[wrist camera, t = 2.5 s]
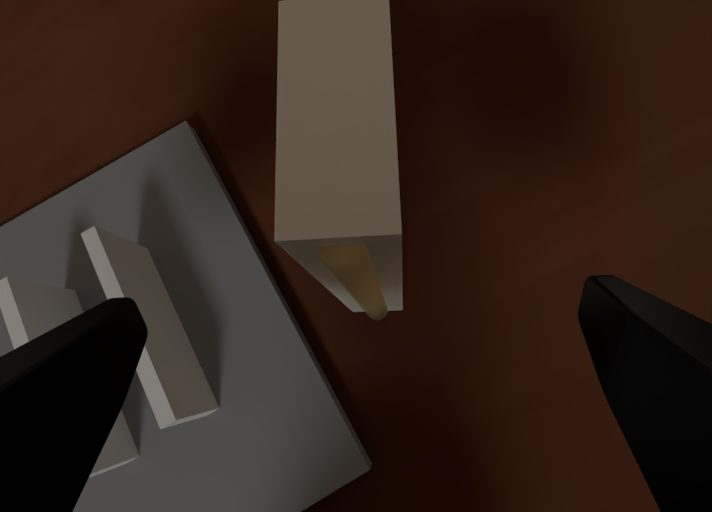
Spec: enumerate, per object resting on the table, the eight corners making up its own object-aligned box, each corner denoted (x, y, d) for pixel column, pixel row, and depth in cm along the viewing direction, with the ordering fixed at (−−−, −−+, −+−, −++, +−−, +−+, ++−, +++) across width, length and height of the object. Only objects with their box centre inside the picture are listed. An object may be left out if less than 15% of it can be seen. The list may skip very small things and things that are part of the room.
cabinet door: (403, 320, 19) (403, 260, 7) (353, 322, 19) (274, 266, 7) (395, 181, 20) (386, -57, 9) (350, 184, 20) (279, -43, 9)
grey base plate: (371, 463, 17) (361, 498, 13) (93, 631, 17) (-12, 725, 13) (195, 131, 22) (144, 75, 18) (-28, 258, 22) (-136, 234, 17)
